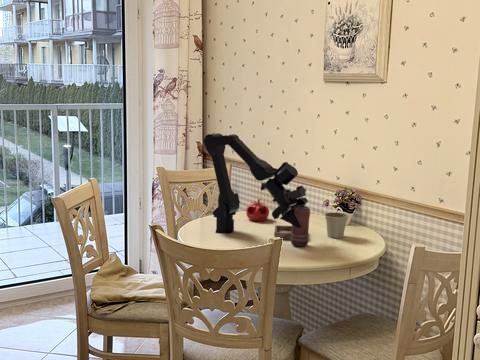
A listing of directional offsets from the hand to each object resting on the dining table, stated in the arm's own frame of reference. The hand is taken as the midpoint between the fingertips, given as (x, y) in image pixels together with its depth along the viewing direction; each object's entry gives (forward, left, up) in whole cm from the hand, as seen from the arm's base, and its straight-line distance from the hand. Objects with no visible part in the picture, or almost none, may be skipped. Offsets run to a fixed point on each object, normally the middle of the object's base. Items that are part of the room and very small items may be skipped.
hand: (303, 226), depth 207 cm
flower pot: (+13, +16, -8) cm, 22 cm away
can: (-1, +1, -7) cm, 7 cm away
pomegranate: (-19, +38, -8) cm, 43 cm away
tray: (-5, +14, -8) cm, 16 cm away
